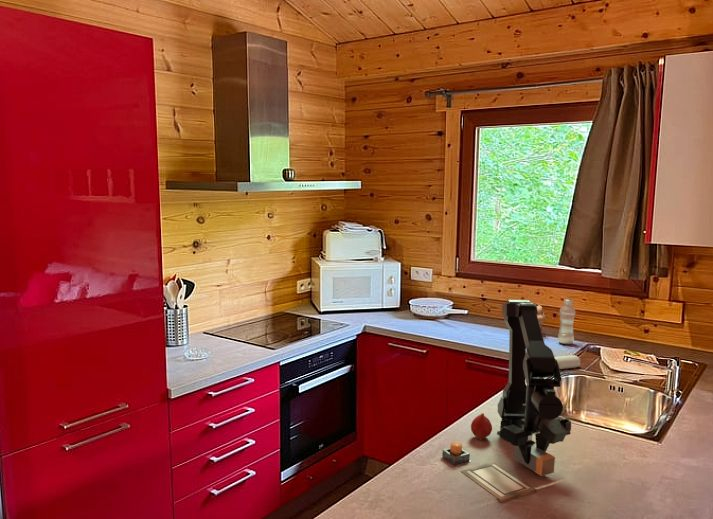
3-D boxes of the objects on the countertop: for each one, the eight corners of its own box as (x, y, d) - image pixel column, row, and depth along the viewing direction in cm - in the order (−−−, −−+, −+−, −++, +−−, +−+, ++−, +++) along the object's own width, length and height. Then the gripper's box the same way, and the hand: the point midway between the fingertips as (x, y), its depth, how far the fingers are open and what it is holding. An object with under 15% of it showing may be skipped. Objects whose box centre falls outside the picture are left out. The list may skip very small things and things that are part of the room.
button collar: (457, 453, 166) (458, 444, 166) (471, 463, 161) (472, 454, 160) (439, 458, 163) (439, 449, 163) (453, 468, 158) (453, 458, 158)
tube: (572, 354, 244) (519, 359, 235) (582, 353, 239) (528, 359, 230) (574, 368, 243) (521, 373, 234) (584, 367, 238) (530, 373, 229)
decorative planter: (502, 328, 295) (504, 300, 292) (522, 326, 300) (524, 298, 298) (531, 339, 277) (533, 309, 275) (552, 337, 282) (554, 307, 280)
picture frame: (494, 464, 161) (494, 461, 160) (536, 491, 148) (536, 488, 147) (460, 473, 155) (460, 470, 155) (500, 502, 142) (500, 499, 142)
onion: (466, 437, 176) (467, 410, 175) (483, 434, 178) (484, 407, 177) (477, 445, 171) (479, 418, 170) (495, 442, 173) (496, 415, 172)
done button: (457, 449, 164) (457, 441, 163) (464, 454, 161) (464, 446, 161) (447, 452, 162) (448, 443, 162) (454, 457, 160) (455, 448, 159)
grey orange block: (525, 455, 162) (526, 440, 161) (553, 472, 153) (555, 457, 152) (513, 458, 160) (514, 443, 159) (541, 476, 151) (542, 460, 151)
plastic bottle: (575, 346, 268) (579, 301, 265) (559, 345, 269) (563, 300, 265) (570, 341, 275) (574, 297, 272) (555, 341, 275) (558, 297, 272)
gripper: (532, 421, 143) (528, 484, 145) (589, 408, 151) (584, 467, 154) (500, 404, 152) (496, 463, 155) (555, 392, 161) (551, 449, 163)
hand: (533, 461), depth 156 cm, fingers closed on grey orange block, 4 cm apart
